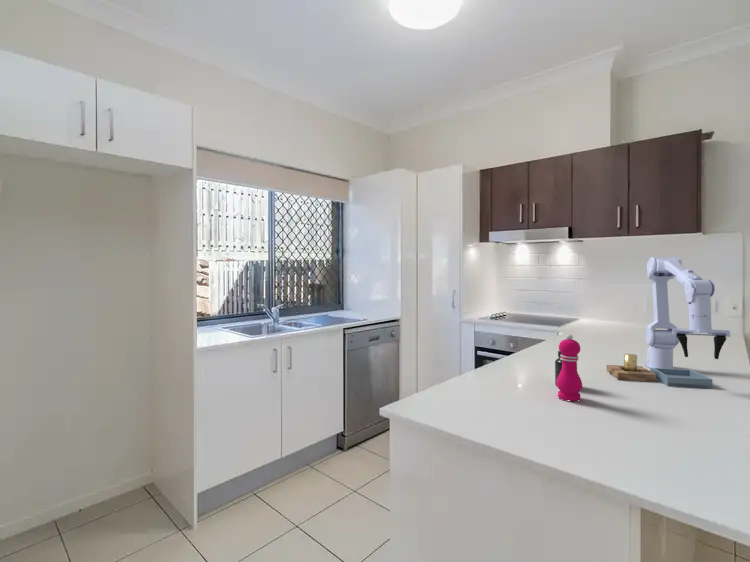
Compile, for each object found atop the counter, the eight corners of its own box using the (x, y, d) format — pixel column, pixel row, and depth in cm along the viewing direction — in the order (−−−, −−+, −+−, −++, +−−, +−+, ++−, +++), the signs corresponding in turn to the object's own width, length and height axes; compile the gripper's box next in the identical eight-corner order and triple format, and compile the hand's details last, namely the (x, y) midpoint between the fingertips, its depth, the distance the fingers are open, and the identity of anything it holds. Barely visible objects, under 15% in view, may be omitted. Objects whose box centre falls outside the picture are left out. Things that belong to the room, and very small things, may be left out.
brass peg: (622, 374, 148) (622, 353, 148) (634, 375, 147) (634, 354, 147) (626, 377, 144) (626, 355, 144) (638, 378, 143) (638, 356, 143)
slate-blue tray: (650, 375, 147) (650, 367, 146) (690, 377, 144) (690, 369, 143) (667, 385, 134) (667, 377, 134) (712, 388, 131) (712, 379, 131)
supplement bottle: (572, 383, 137) (572, 349, 137) (580, 389, 131) (580, 353, 130) (551, 383, 138) (552, 349, 138) (559, 389, 131) (559, 353, 131)
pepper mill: (585, 403, 118) (586, 336, 117) (559, 401, 119) (559, 336, 119) (578, 395, 125) (578, 332, 124) (553, 394, 126) (554, 332, 126)
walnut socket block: (606, 371, 153) (606, 364, 153) (641, 372, 150) (641, 366, 150) (618, 379, 141) (618, 373, 141) (656, 381, 139) (656, 374, 139)
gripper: (673, 315, 130) (674, 357, 130) (731, 317, 123) (733, 361, 122) (671, 315, 136) (672, 354, 136) (726, 316, 129) (728, 358, 128)
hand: (701, 357), depth 129 cm, fingers open, 7 cm apart
